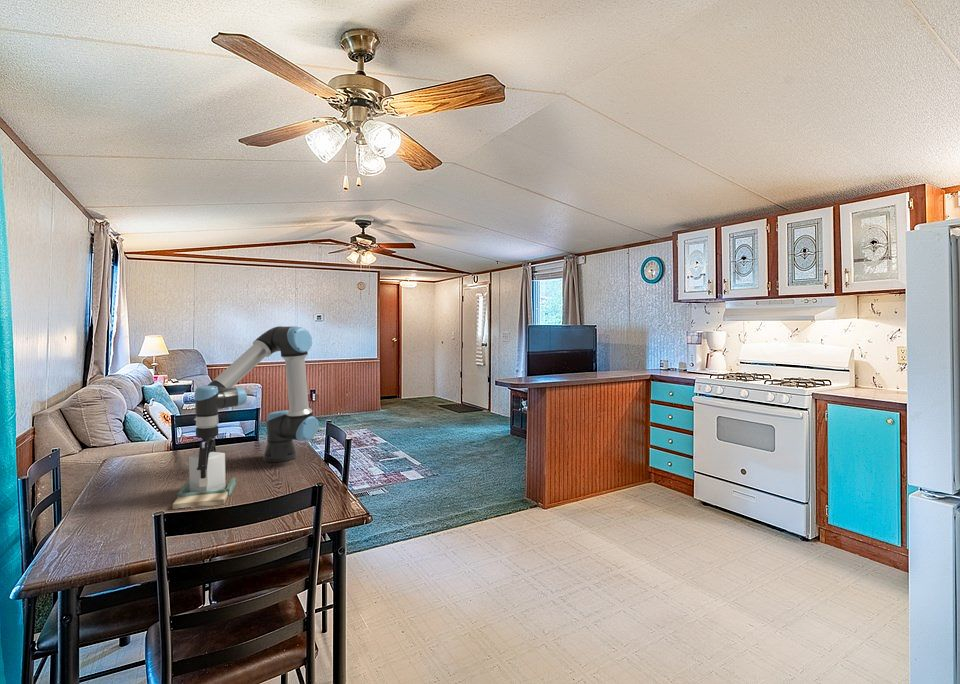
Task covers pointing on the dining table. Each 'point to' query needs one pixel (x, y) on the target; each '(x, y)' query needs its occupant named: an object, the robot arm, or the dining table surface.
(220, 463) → the supplement box
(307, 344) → the robot arm
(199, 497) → the green and wood frame
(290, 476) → the dining table surface
